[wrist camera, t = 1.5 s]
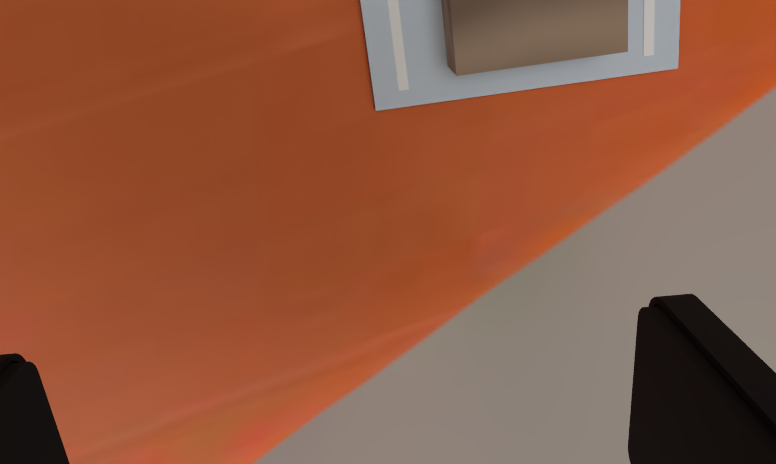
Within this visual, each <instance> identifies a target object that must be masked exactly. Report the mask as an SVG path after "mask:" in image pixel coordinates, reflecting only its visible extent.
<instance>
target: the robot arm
mask: <svg viewBox="0 0 776 464" xmlns="http://www.w3.org/2000/svg"><path fill="white" fill-rule="evenodd" d="M628 453H629V459H630V463H631V464H776V373H775V372H774V371H773V370H772V369H771V368H770V367H769V366H768V365H767V364H766V363H765V362H764V361H763V360H761V359H760V358H759V357H758V356H757V355H756V354H755V353H754V352H753V351H752V350H751V349H750V348H749V347H748V346H747V345H746V344H745V343H744V342H743V341H742V340H741V339H740V338H739V337H738V336H737V335H736V334H735V333H733V331H732V330H730V329H729V328H728V327H727V326H726V325H725V324H724V323H723V322H722V321H721V320H720V319H719V318H718V317H717V316H716V315H715V314H714V313H713V312H712V311H711V310H710V309H709V308H708V307H707V306H706V305H705V304H704V303H702V302H701V301H700V300H699V299H698V298H697V297H696V296H695V295H693V294H684V295H672V296H661V297H654V298H653V299H651V301H650V304H649V307H643V308H641V309H640V311H639V315H638V323H637V336H636V350H635V362H634V375H633V388H632V401H631V414H630V427H629V440H628ZM0 464H69V461H68V458H67V455H66V452H65V449H64V446H63V443H62V440H61V437H60V434H59V431H58V428H57V426H56V423H55V420H54V417H53V414H52V411H51V408H50V405H49V402H48V399H47V396H46V393H45V390H44V387H43V384H42V381H41V378H40V375H39V372H38V370H37V368H36V366H35V365H34V364H33V363H31V362H26V361H25V359H24V358H23V357H22V356H21V355H19V354H16V353H15V354H4V355H0Z"/></svg>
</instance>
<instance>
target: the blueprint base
mask: <svg viewBox="0 0 776 464" xmlns="http://www.w3.org/2000/svg"><path fill="white" fill-rule="evenodd" d="M360 2H361V9H362V16H363V23H364V30H365V37H366V44H367V51H368V58H369V65H370V73H371V80H372V87H373V94H374V101H375V108H376V111H379V110H386V109H393V108H401V107H408V106H415V105H422V104H429V103H436V102H443V101H450V100H457V99H464V98H472V97H479V96H486V95H493V94H500V93H507V92H514V91H521V90H528V89H535V88H543V87H550V86H557V85H564V84H571V83H578V82H585V81H592V80H599V79H606V78H614V77H621V76H628V75H635V74H642V73H649V72H656V71H663V70H670V69H677V68H678V56H679V27H680V0H360Z"/></svg>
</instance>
